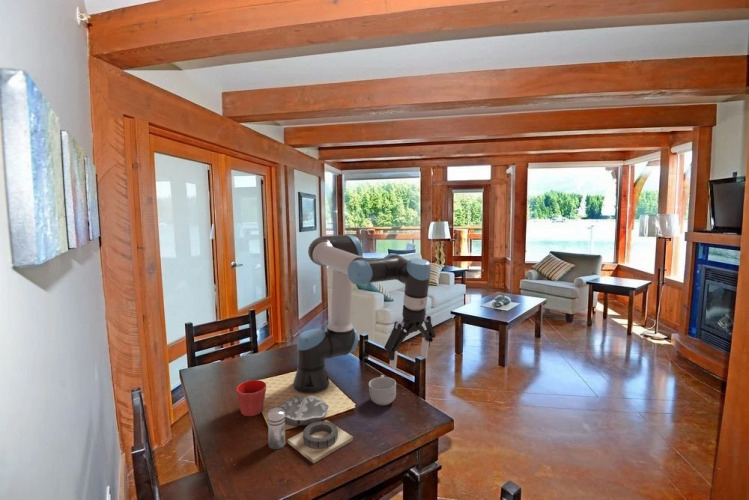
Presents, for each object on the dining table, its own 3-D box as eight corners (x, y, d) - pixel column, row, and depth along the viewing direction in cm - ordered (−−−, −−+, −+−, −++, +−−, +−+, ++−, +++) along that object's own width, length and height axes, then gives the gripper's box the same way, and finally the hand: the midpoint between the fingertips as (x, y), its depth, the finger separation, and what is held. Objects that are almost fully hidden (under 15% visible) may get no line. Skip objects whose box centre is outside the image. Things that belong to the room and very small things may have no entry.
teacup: (393, 410, 141) (393, 390, 140) (365, 407, 143) (365, 387, 142) (398, 392, 155) (398, 374, 154) (373, 389, 157) (373, 371, 156)
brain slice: (330, 402, 147) (330, 395, 146) (326, 428, 130) (326, 420, 129) (280, 402, 146) (280, 395, 146) (269, 428, 129) (269, 420, 129)
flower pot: (272, 406, 143) (272, 382, 142) (254, 421, 133) (254, 395, 132) (249, 401, 147) (249, 377, 146) (230, 415, 136) (229, 390, 135)
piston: (265, 444, 120) (264, 411, 119) (279, 436, 124) (279, 405, 123) (274, 451, 117) (273, 418, 115) (288, 443, 120) (287, 411, 119)
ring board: (287, 442, 121) (287, 432, 120) (326, 422, 132) (326, 413, 132) (313, 463, 111) (313, 452, 111) (353, 440, 123) (353, 429, 122)
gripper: (390, 318, 112) (385, 378, 118) (450, 303, 125) (442, 357, 132) (376, 308, 118) (372, 365, 124) (435, 294, 131) (428, 346, 137)
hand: (408, 361), depth 128 cm, fingers open, 13 cm apart
